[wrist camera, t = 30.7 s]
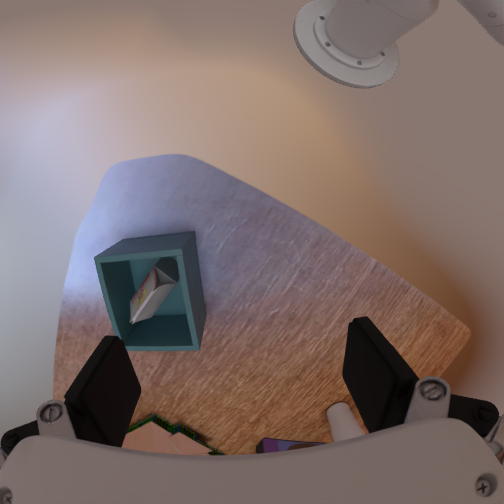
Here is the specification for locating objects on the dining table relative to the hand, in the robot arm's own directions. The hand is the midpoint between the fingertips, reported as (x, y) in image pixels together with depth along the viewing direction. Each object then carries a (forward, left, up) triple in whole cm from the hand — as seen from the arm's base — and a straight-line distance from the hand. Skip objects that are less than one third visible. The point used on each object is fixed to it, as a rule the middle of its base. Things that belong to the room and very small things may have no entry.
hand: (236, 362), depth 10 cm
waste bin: (+7, -12, -30) cm, 33 cm away
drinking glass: (+42, +18, -30) cm, 55 cm away
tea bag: (+6, -12, -29) cm, 32 cm away
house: (+55, -26, -30) cm, 68 cm away
